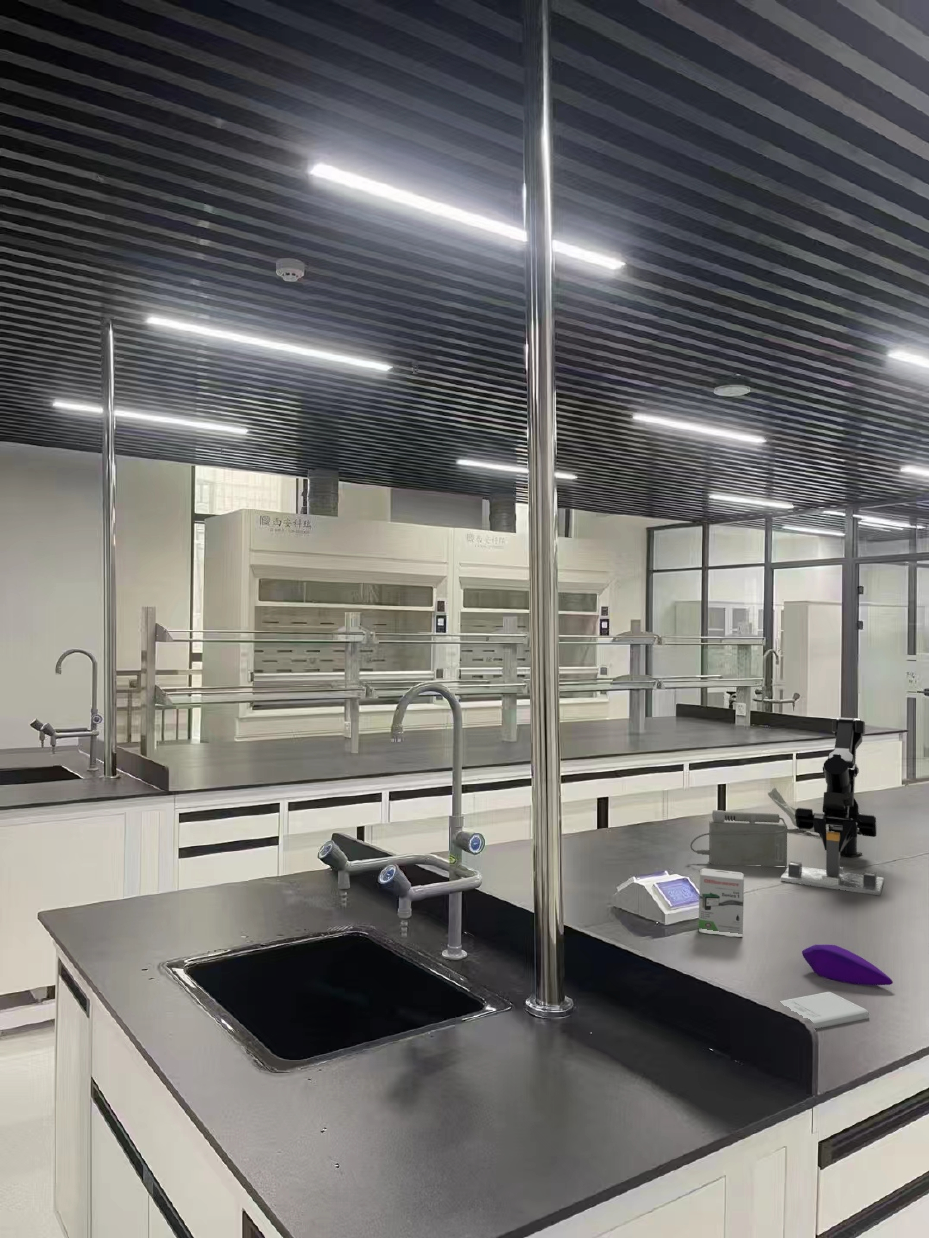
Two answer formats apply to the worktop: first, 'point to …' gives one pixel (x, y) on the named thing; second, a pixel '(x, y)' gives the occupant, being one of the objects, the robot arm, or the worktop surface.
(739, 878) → the ink box
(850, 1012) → the external hard drive
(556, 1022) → the worktop surface
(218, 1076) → the worktop surface
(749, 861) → the geiger counter
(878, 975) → the purple teardrop shape
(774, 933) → the worktop surface
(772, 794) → the skeletal model
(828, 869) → the lever
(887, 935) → the worktop surface
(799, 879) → the breaker panel
